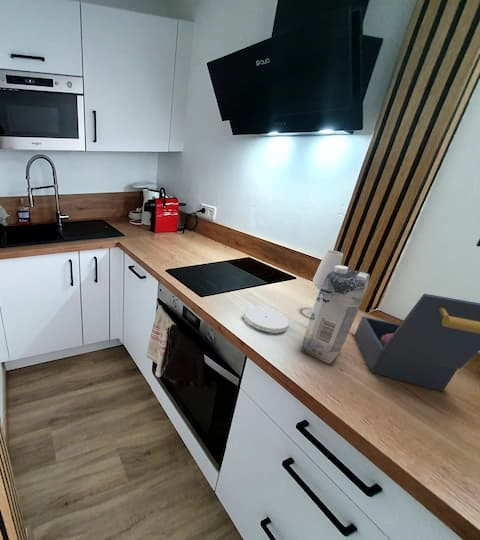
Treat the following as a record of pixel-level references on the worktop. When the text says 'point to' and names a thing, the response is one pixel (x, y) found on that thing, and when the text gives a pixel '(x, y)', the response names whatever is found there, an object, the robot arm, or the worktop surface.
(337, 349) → the juice carton
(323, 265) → the champagne flute
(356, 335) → the chest
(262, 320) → the plastic lid
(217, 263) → the worktop surface
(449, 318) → the lid
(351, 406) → the worktop surface
